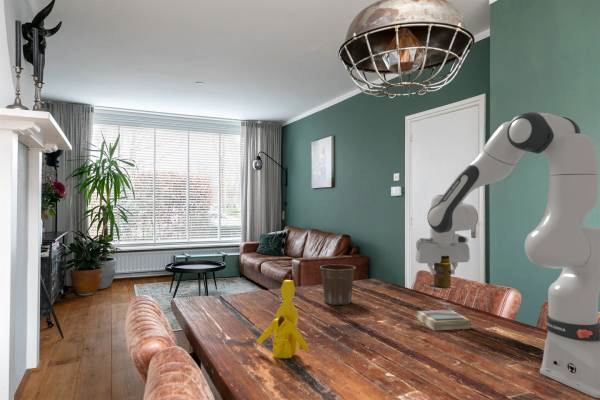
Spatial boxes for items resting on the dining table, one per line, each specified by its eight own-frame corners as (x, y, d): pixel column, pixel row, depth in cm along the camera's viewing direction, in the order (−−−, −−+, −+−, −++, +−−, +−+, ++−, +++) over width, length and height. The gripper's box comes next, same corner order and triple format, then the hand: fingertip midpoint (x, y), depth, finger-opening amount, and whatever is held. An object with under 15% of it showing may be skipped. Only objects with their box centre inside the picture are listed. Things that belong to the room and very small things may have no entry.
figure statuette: (252, 354, 120) (252, 281, 120) (266, 346, 127) (266, 276, 127) (306, 365, 112) (306, 286, 112) (317, 355, 119) (317, 281, 119)
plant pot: (328, 296, 193) (327, 263, 193) (360, 300, 186) (360, 265, 186) (314, 304, 178) (314, 268, 178) (348, 308, 171) (348, 270, 171)
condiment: (455, 287, 149) (456, 255, 149) (441, 290, 145) (441, 257, 145) (439, 284, 155) (439, 253, 155) (424, 286, 151) (425, 254, 151)
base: (470, 328, 144) (470, 318, 144) (434, 330, 142) (434, 320, 142) (450, 317, 158) (450, 308, 158) (416, 318, 156) (416, 310, 156)
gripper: (420, 239, 145) (420, 277, 145) (472, 238, 148) (472, 275, 148) (412, 237, 152) (412, 273, 152) (462, 236, 155) (462, 272, 155)
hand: (442, 274), depth 150 cm, fingers closed on condiment, 6 cm apart
